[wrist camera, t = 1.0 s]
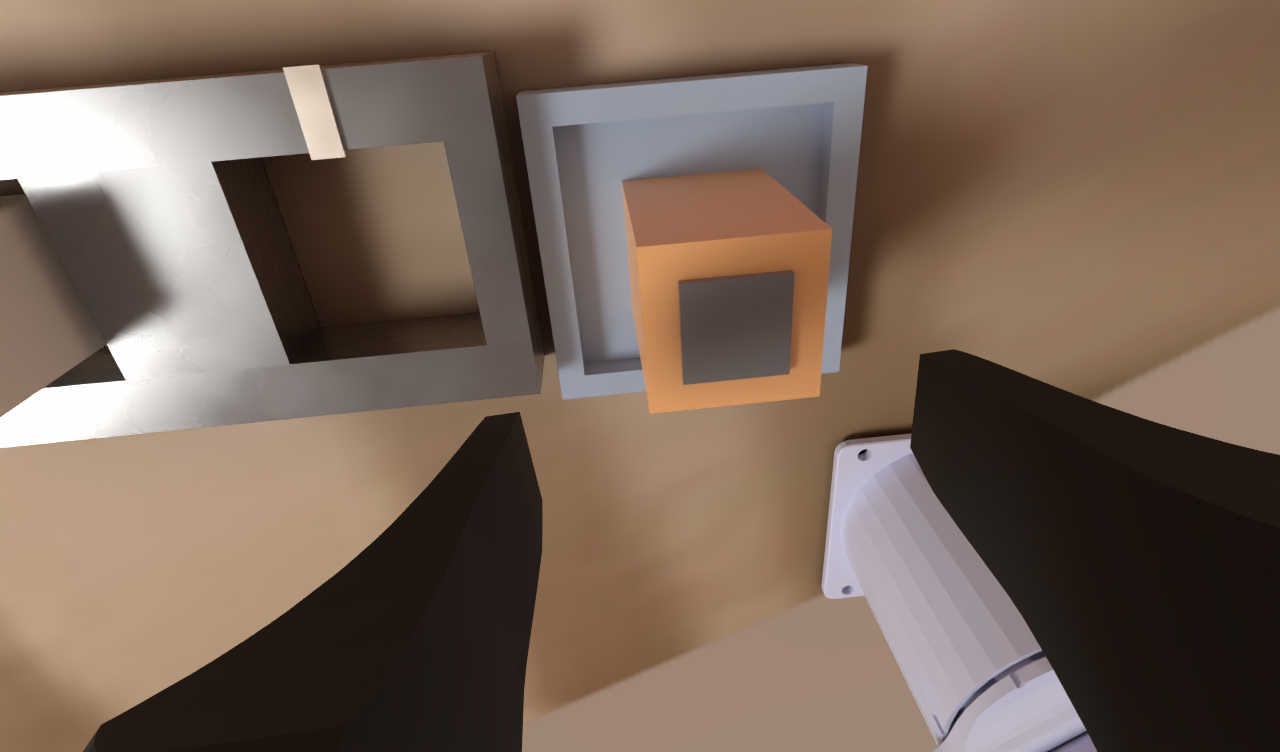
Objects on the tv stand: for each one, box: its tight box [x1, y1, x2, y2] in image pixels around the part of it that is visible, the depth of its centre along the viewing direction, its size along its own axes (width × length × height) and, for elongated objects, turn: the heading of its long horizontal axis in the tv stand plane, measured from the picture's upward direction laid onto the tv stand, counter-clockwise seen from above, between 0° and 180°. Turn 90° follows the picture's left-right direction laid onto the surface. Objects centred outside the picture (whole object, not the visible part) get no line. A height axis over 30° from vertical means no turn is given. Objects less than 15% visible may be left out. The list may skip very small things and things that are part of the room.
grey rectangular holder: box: [0, 51, 545, 448], centre depth 17 cm, size 18×9×2 cm, turn 94°
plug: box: [622, 168, 832, 414], centre depth 16 cm, size 4×4×6 cm
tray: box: [516, 63, 868, 399], centre depth 19 cm, size 9×9×1 cm
